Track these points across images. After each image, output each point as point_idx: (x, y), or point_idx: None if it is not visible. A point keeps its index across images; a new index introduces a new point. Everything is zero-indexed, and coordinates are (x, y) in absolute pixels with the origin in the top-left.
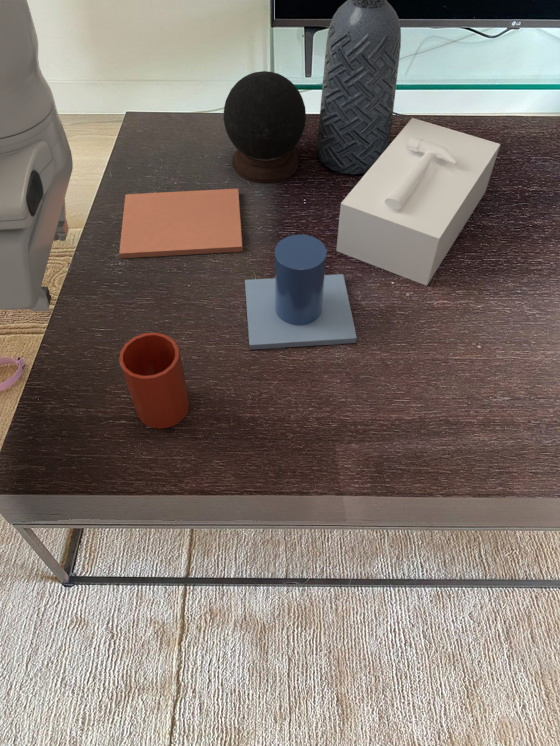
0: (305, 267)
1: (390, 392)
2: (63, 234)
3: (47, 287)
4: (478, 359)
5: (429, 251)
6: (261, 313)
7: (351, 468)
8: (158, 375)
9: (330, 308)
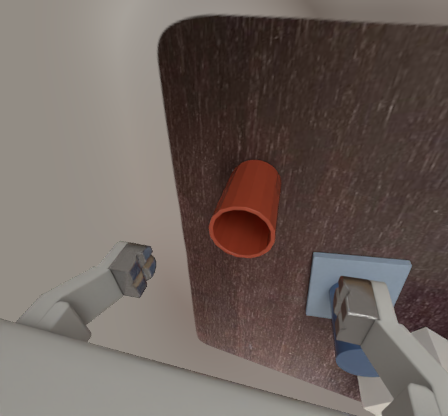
0: (338, 360)
1: (258, 312)
2: (336, 313)
3: (139, 296)
4: (280, 350)
5: (363, 388)
6: (353, 270)
7: (203, 283)
8: (213, 239)
9: None
